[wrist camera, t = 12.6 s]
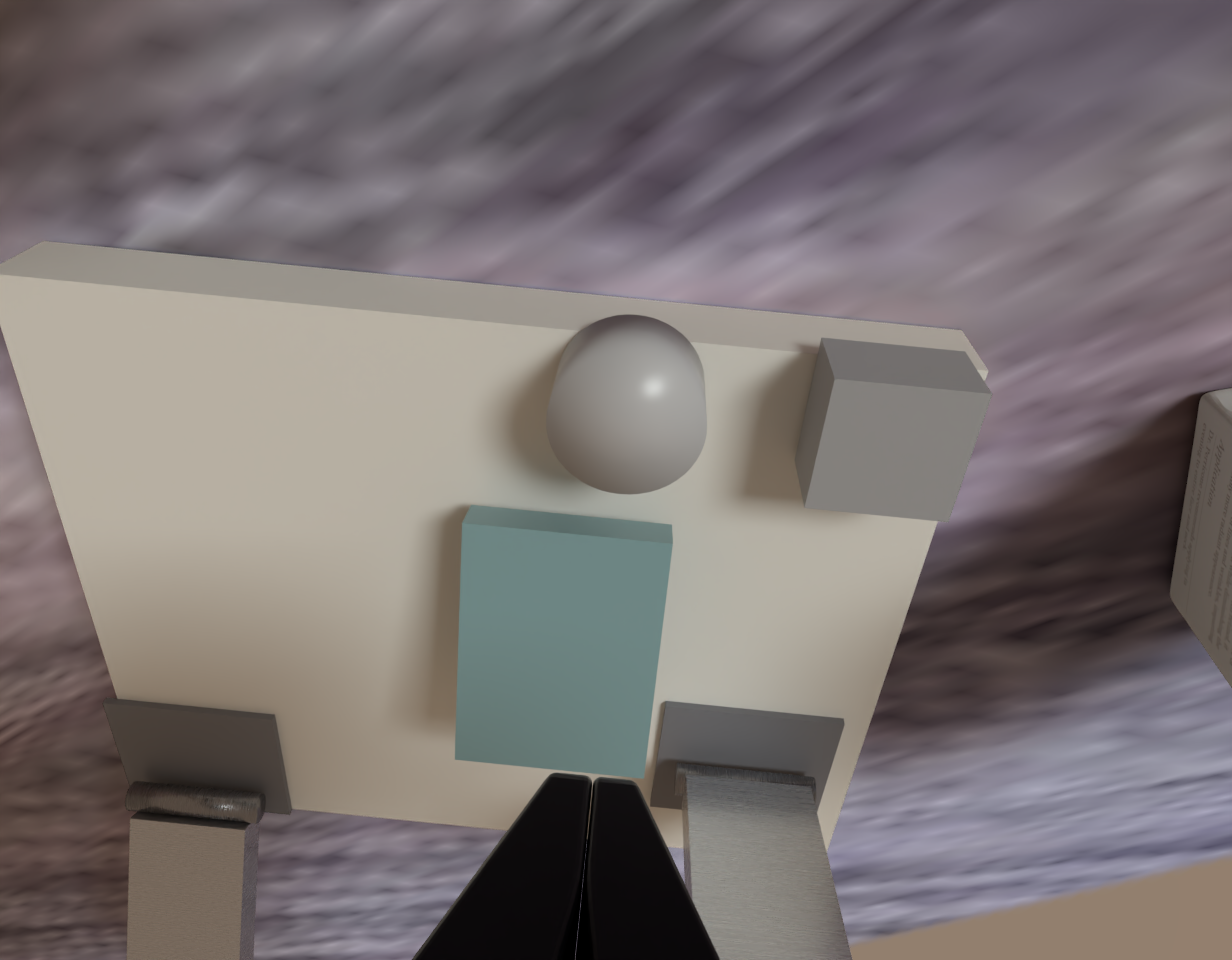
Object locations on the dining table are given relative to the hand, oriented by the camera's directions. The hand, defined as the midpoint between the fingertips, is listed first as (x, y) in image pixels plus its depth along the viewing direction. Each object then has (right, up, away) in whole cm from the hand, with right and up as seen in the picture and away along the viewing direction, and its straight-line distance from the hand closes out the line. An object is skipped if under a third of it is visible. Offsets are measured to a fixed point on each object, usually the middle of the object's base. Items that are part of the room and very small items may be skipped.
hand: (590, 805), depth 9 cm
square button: (+6, +5, +10) cm, 12 cm away
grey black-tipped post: (+4, -5, +15) cm, 16 cm away
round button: (+1, +5, +10) cm, 11 cm away
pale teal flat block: (-1, 0, +12) cm, 12 cm away
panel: (-3, +1, +15) cm, 16 cm away
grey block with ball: (-12, -6, +17) cm, 21 cm away
